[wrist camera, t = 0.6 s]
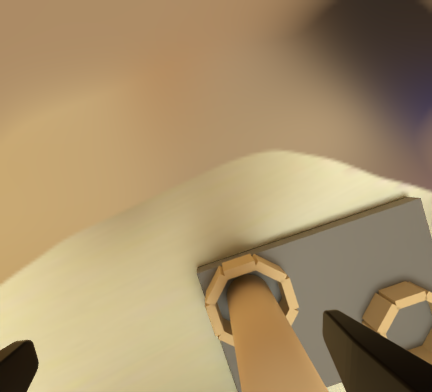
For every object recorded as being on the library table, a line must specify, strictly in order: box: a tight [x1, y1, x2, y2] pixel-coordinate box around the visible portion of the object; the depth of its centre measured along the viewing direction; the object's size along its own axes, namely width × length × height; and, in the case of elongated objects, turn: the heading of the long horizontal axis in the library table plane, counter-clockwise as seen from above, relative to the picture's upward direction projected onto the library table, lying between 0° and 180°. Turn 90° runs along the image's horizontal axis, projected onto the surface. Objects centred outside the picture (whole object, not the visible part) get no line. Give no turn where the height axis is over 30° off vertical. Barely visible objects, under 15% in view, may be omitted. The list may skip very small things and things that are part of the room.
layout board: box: [197, 197, 432, 392], centre depth 16 cm, size 15×22×14 cm
